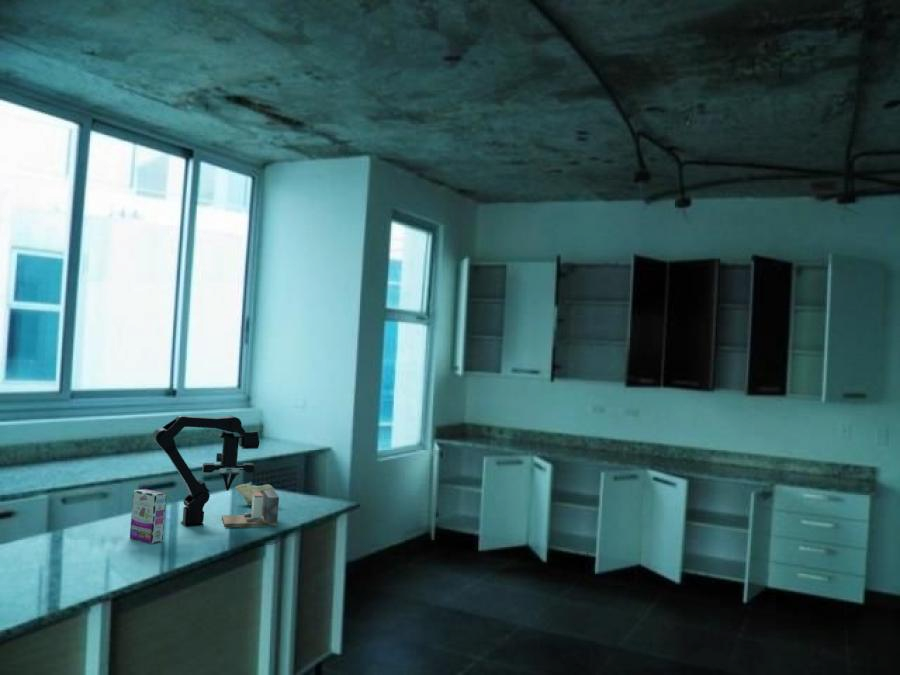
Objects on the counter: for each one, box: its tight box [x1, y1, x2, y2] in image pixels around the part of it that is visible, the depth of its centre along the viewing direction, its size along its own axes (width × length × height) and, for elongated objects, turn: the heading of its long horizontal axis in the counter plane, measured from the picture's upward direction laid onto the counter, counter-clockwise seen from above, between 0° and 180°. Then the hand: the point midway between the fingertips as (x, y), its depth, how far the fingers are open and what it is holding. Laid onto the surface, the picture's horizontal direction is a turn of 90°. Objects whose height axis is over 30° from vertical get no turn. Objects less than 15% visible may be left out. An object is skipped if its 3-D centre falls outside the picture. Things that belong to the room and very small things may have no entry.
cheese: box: [234, 481, 276, 505], centre depth 306 cm, size 15×7×15 cm
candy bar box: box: [129, 488, 168, 545], centre depth 245 cm, size 11×5×16 cm, turn 62°
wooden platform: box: [221, 489, 280, 528], centre depth 277 cm, size 19×13×11 cm
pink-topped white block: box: [250, 493, 263, 520], centre depth 278 cm, size 3×6×9 cm, turn 22°
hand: (227, 490), depth 276 cm, fingers closed
